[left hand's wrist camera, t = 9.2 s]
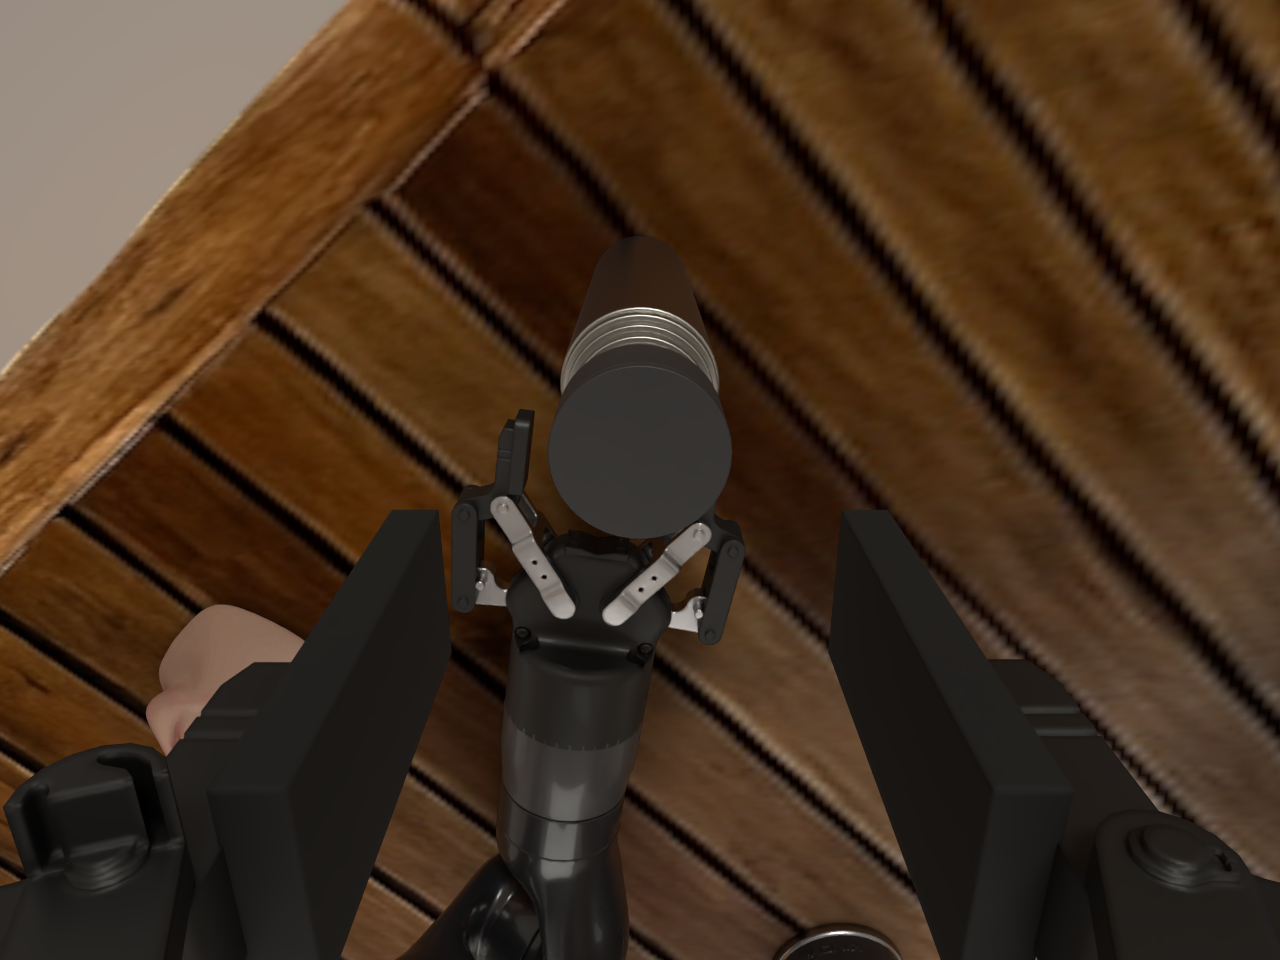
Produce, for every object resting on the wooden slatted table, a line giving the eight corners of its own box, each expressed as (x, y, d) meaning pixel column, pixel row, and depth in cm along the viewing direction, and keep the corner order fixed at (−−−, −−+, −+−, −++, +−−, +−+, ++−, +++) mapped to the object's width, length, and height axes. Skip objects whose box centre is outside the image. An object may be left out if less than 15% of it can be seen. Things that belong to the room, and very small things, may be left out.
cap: (604, 312, 21) (600, 332, 19) (754, 393, 22) (767, 420, 20) (528, 457, 23) (516, 490, 21) (672, 528, 24) (675, 567, 22)
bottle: (620, 217, 43) (597, 314, 20) (703, 264, 44) (777, 411, 20) (577, 303, 45) (506, 487, 21) (658, 346, 46) (678, 571, 22)
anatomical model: (133, 624, 47) (344, 677, 48) (170, 588, 51) (365, 638, 52) (113, 808, 52) (306, 852, 53) (149, 764, 55) (327, 806, 57)
